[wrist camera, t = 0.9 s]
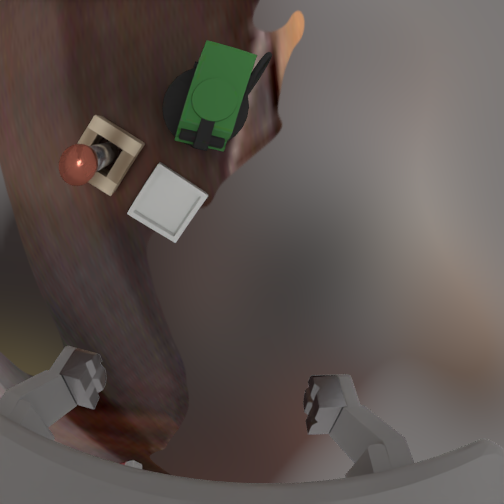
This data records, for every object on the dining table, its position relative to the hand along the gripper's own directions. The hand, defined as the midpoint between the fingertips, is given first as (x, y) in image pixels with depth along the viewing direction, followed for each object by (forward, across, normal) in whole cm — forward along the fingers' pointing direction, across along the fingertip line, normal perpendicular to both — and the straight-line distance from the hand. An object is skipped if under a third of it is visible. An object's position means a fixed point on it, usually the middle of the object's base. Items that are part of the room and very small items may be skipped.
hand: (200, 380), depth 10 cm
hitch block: (+37, +22, -5) cm, 43 cm away
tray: (+39, +12, +4) cm, 41 cm away
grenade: (+41, +8, -13) cm, 43 cm away
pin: (+37, +22, -5) cm, 43 cm away
